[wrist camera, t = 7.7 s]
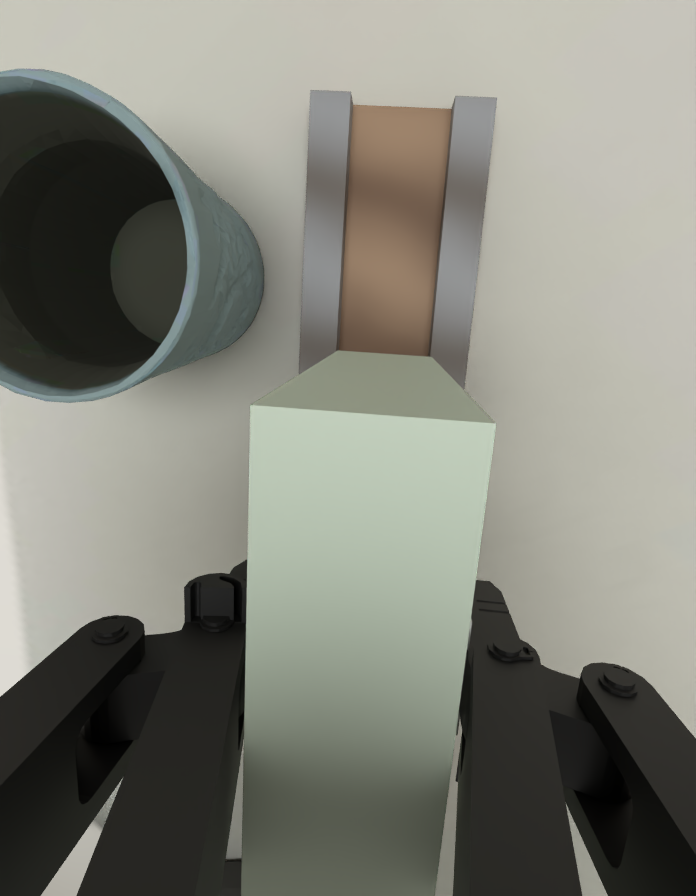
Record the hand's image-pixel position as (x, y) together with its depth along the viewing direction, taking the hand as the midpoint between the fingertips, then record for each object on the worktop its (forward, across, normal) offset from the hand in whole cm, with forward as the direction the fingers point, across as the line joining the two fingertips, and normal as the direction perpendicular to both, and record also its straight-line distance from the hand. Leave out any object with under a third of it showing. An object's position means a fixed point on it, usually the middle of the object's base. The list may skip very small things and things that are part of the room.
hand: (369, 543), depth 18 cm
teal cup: (+13, +11, -8) cm, 19 cm away
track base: (+13, 0, -5) cm, 14 cm away
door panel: (+1, 0, 0) cm, 1 cm away
